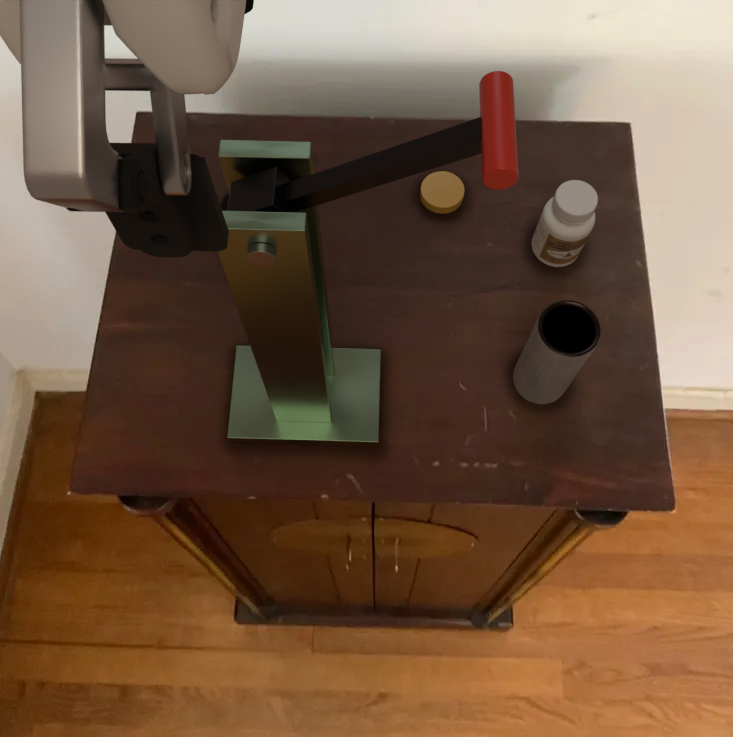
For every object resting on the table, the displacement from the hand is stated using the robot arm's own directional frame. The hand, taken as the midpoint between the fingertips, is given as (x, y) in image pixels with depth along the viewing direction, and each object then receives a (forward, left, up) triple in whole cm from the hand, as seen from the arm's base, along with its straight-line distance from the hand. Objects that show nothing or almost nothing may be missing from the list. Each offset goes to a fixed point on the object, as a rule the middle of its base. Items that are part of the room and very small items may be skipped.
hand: (196, 117), depth 26 cm
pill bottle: (-29, -3, -39) cm, 49 cm away
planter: (-20, +6, -39) cm, 45 cm away
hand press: (-3, -3, -39) cm, 39 cm away
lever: (-7, 0, -9) cm, 12 cm away
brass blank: (-23, -13, -39) cm, 48 cm away
